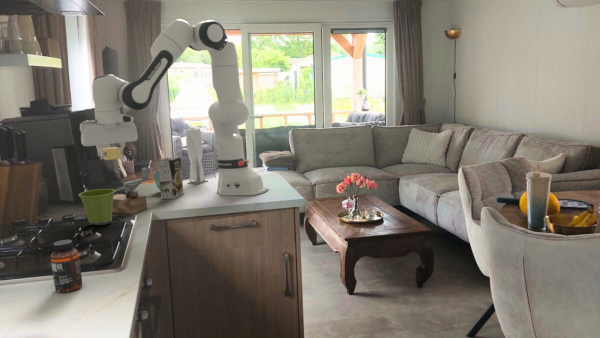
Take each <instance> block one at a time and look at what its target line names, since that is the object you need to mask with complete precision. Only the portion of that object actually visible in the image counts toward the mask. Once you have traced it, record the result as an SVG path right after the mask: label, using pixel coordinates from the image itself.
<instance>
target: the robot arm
mask: <svg viewBox="0 0 600 338" xmlns="http://www.w3.org/2000/svg"><path fill="white" fill-rule="evenodd" d="M187 48H190V49H192V50H193V51H197V52H201V51H208V54H209V56H210V59H211V61H210V62H211V63H210V64H211V75H212V76H211V79H212V87H213V89H214V91H215V93H216V94H215V95H216V97H217V101H215V102H213V103H211V104H210V106H209V108H208V118H209V119H210V121H211V124H212V128H213V129H212V130H213V132H214V136H215V140H216V148H217V149H216V150H217V159H216V161H217V170H218V182H217V189H216V193H218V194H219V196H257V195H260V194H263V193H265V192H268V191H269V187H268V186H264V182H263V179H262V176H261V174H259V173H257V172H256V171H255V170H253V169H252V168H251V167H250V166H249V164H248V163H249V162H250V159H246V158H245V152H244V150H245V149H244V140H243V139H244V138H243V137H242V135H241V133H240V130H239V126H242V125H244V124H245V123H246V122H247V120H248V119H249V113H250V112H249V109H248V107H247V105H246V103H245V101H244V97H243V94H242V90H241V84H240V74H239V73H240V72H239V61H238V54H237V49H236V45H235V43H234V42H233V41H232V40H230V39H228V36H227V34H226V31H225V28H224V26H223V25H222V24H221V23H220V22H219V21H216V20H213V19H212V20H211V19H208V20H203V21H200V22H198V23H195V24H192V25H191V24H190V23H189V22H188V21H186V20H184V19H180V18H177V19H175V20H174V21H173V20H172V22H170V23H169V24H168V25H167V26H166V27H165V28H164V29H163V30H162V31H161V32H160V34H159V35H157V37H156V38H155V40H154V42H153V43H152V45H151V47H150V55H151V58H152V59H151V62H150V63H149V64H148V66H147V68H146V69H145V70H144V71H143V73H142V74H141V75H140V77H139V78H138V79H136V80H134V81H132V82H130V81H126V80H124V79H121V78H119V77H117V76H116V75H115V74H112V73H107V74H103V75H99V76H96V77H94V79H93V80H92V85H91V87H92V88H91V89H92V92H91V93H92V101H93V102H94V119H91V120H83V121H82V122H81V123H80V124H79V132H80V143H81V145H82V146H83V147H92V146H94V147H95V146H96V149H97V150H98V152H99V155H100V158H103V157H106V155H105V154H106V152H103V151H102V148H103V147H102V146H103V145H111V144H118V145H119V148H120V152H121V156H122V155H123V154H124V151H123V150H124V149H125V146H126V143H131V142H137V140H138V139H139V135H138V130H137V126H136V124H135V123H134V122H135V121H134V120H135V119H134V116H132V115H128V114H124V113H121V111H120V108H124V109H132V110H135V111H141V110H144V109H146V108H147V107H148V106H149V105H150V103H151V102H152V100H153V99H152V98H153V95H154V91H155V89H156V88H157V86H158V84H159V83H160V81H161V80H162V79H163V77H164V76H165V75H166V73H167V72H168V71H169V69H170V68H171V67H172V66H173V65H174V64H175V63H176V62H177V60H178V59H180V58H181V56H182V55H183V53H184V52H185V51H186V50H187Z"/></svg>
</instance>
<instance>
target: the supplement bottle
mask: <svg viewBox="0 0 600 338" xmlns="http://www.w3.org/2000/svg"><path fill="white" fill-rule="evenodd" d="M53 249H54V250H53V251H52V252H51V254H50V261H51V262H50V263H51V269H52V276H53V284H54V290H55V291H56V292H57V291H59V292H58V293H61V292H65V293H68V292H67V291H71V292H74V291H73V290H75V291H77V290H79V289H80V288H82V286H83V279H82V278H83V277H82V271H81V270H82V269H81V263H80V255H79V252H78V251H79V250H78V249H76V248H74V245H73V241H72V240H71V239H63V240H58V241H55V242H54V243H53ZM76 289H77V290H76Z"/></svg>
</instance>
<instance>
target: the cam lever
mask: <svg viewBox="0 0 600 338" xmlns="http://www.w3.org/2000/svg"><path fill="white" fill-rule="evenodd" d="M140 169H141V176H142V178H139V179H135V180H130V181H125V182H122V185H123V186H124V193H125V195H126V198H128V197H130V191H131V185H136V184H140V183H143V182H148V181H150V178H149V171H148V167H142V168H140Z"/></svg>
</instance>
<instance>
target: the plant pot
mask: <svg viewBox="0 0 600 338" xmlns="http://www.w3.org/2000/svg"><path fill="white" fill-rule="evenodd" d="M115 192H116V190H115V189H113V188H100V189H91V190H86V191H82V192H79V194H78V197H79V198H80V200H81V203H82V204H83V207H84V212H85V213H86V219H87V221H88V223H89V222H90V223H93V222H97V223H99V222H108V221H112V220H113V212H112V207H113V198H114V195H115ZM112 222H113V221H112Z"/></svg>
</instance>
